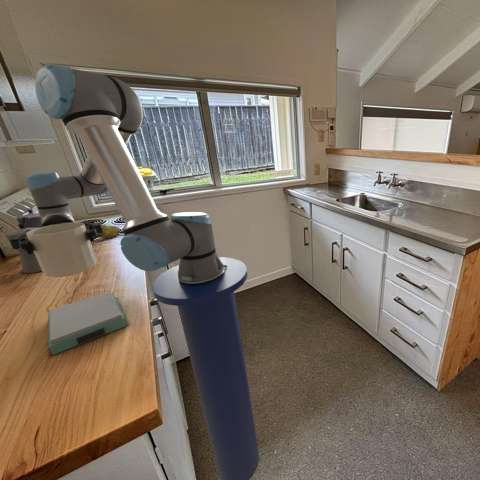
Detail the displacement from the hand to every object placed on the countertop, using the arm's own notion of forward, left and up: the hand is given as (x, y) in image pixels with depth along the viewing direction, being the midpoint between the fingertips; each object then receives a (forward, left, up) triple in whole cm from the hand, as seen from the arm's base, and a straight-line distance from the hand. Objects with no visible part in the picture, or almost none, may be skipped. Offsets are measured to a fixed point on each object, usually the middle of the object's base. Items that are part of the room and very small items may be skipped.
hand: (61, 242), depth 66 cm
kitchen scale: (0, +7, -21) cm, 22 cm away
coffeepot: (+9, -50, -21) cm, 55 cm away
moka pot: (+8, -68, -21) cm, 72 cm away
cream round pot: (0, -4, -9) cm, 10 cm away
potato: (-14, -76, -21) cm, 80 cm away
